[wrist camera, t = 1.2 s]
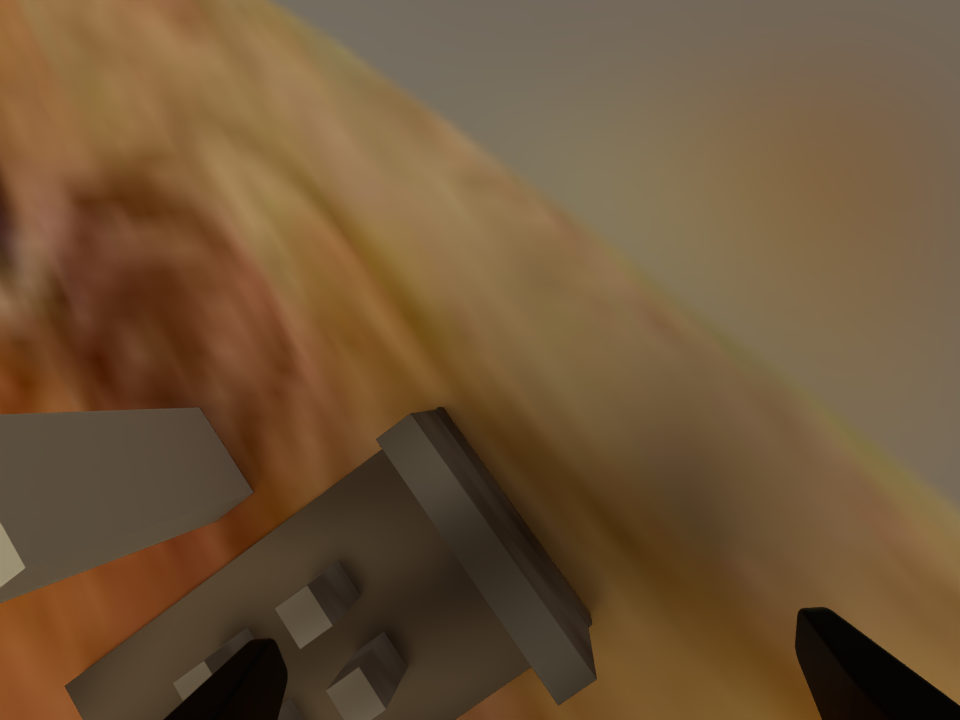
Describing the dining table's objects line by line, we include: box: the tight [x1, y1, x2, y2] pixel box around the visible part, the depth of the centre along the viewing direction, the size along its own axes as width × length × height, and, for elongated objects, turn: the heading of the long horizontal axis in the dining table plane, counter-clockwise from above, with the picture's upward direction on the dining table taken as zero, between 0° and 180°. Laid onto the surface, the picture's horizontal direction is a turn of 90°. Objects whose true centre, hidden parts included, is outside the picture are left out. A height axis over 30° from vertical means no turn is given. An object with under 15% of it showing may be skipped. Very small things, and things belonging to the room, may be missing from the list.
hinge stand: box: [65, 407, 597, 720], centre depth 22 cm, size 11×22×5 cm, turn 126°
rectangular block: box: [0, 407, 254, 603], centre depth 20 cm, size 5×3×11 cm, turn 37°
